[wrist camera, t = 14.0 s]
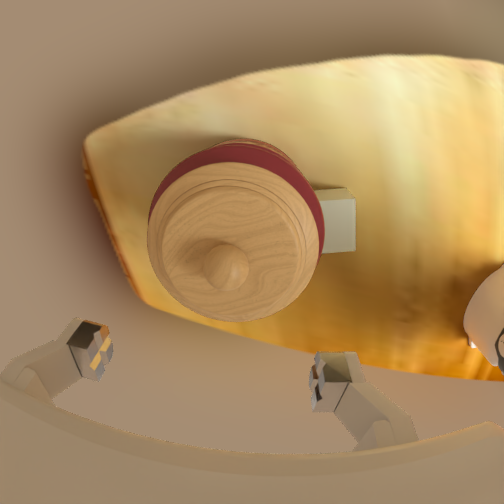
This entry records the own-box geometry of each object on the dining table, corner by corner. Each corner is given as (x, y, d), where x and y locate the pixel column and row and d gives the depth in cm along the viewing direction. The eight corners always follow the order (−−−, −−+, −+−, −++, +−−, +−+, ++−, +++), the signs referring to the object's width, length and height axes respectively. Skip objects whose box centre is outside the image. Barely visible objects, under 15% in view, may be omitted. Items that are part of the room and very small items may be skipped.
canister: (193, 252, 34) (142, 358, 18) (181, 142, 29) (92, 169, 13) (303, 250, 34) (331, 361, 18) (303, 136, 28) (353, 152, 12)
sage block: (314, 201, 27) (310, 190, 31) (317, 253, 29) (313, 236, 33) (355, 198, 26) (346, 188, 30) (355, 250, 29) (347, 234, 33)
